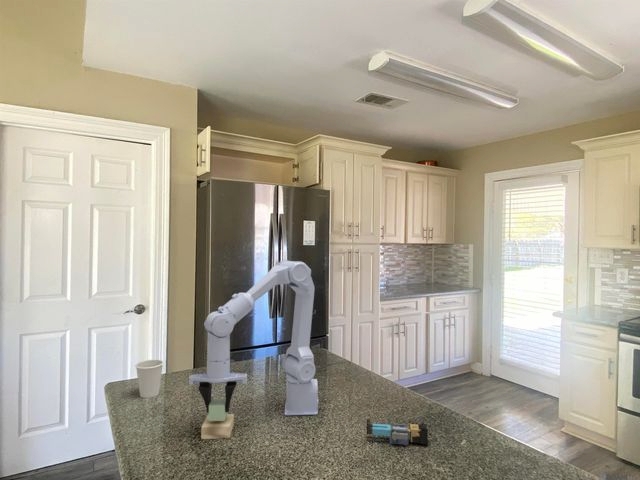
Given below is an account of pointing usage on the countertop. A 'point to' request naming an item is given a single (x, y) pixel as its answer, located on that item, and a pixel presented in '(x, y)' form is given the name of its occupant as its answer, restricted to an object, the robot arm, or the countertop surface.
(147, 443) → the countertop surface
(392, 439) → the toy
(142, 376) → the dixie cup
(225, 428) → the maple block
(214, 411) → the sage block
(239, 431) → the countertop surface
